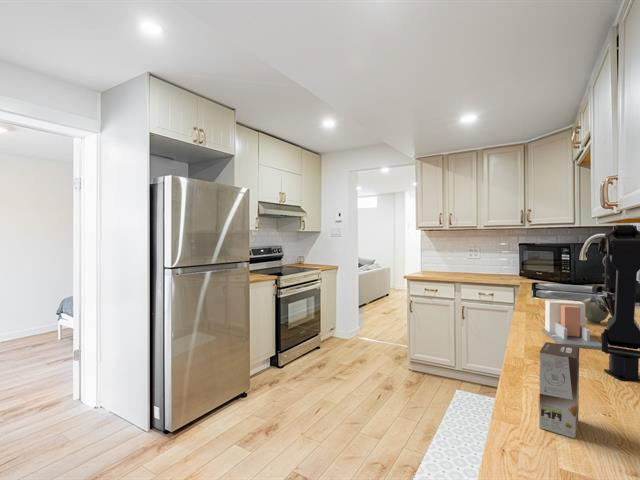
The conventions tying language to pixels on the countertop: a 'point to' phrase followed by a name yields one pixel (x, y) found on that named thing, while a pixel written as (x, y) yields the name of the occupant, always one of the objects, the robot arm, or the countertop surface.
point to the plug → (571, 319)
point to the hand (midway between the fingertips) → (615, 319)
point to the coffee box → (559, 388)
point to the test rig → (560, 332)
